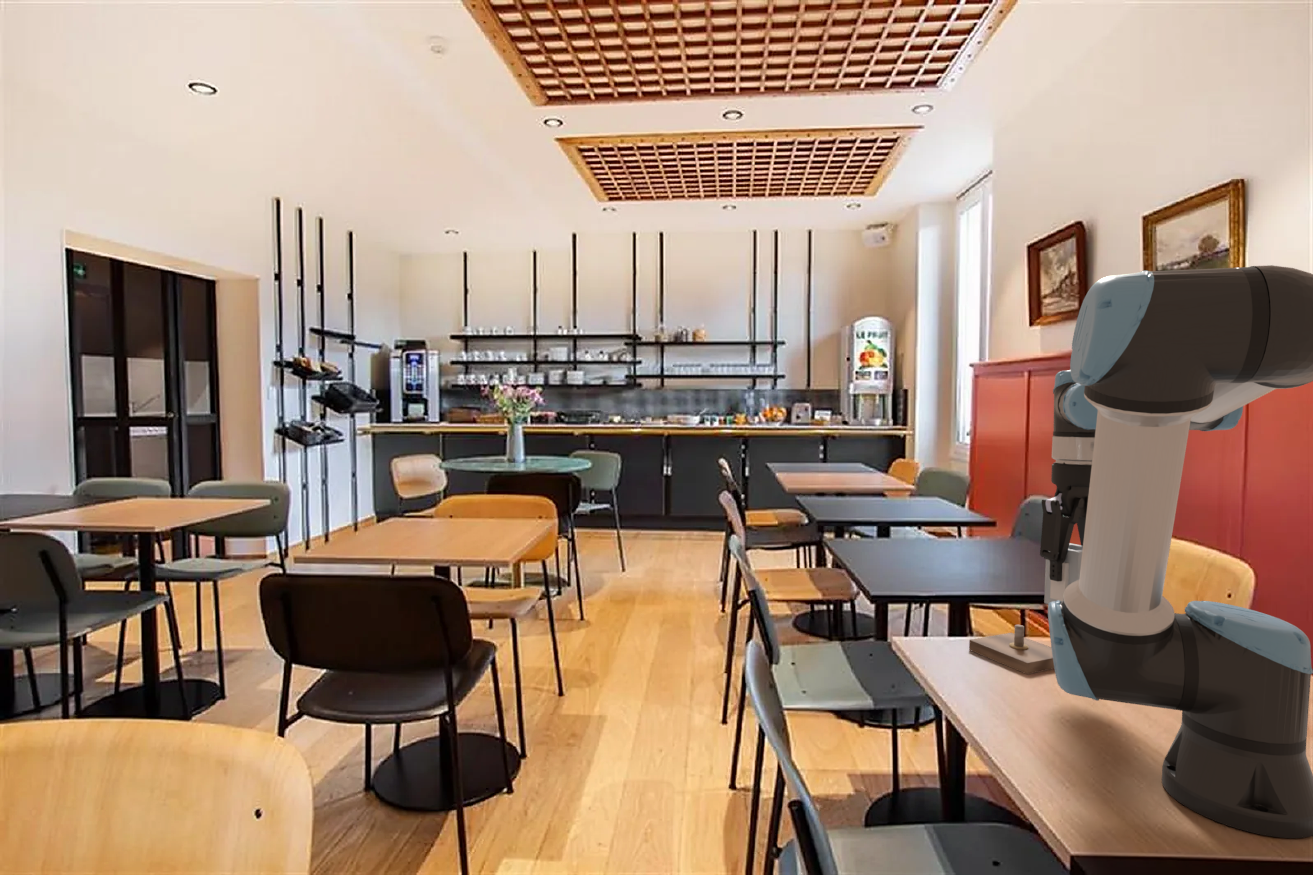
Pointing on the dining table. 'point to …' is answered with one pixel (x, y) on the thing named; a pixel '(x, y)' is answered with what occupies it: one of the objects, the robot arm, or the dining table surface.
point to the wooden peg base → (1015, 651)
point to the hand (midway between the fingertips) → (1072, 597)
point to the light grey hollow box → (1074, 569)
